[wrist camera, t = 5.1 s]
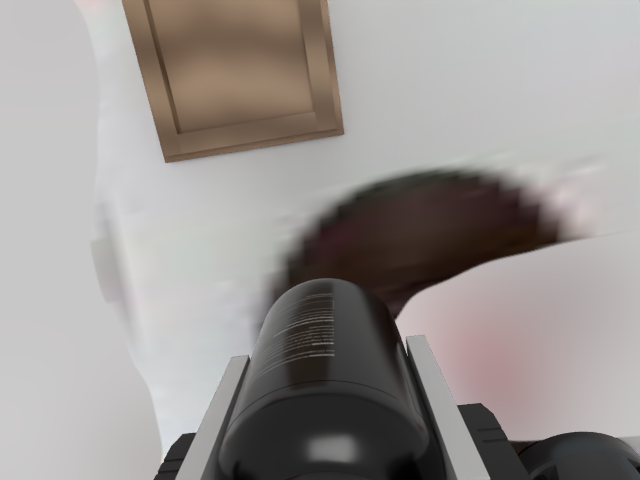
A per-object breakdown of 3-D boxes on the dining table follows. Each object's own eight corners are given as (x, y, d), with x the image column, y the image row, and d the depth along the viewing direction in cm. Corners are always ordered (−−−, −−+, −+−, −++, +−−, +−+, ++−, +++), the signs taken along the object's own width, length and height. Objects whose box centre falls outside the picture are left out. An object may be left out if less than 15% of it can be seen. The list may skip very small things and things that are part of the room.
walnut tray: (343, 134, 30) (344, 134, 28) (170, 162, 31) (159, 163, 29) (315, -83, 26) (313, -100, 24) (116, -41, 27) (100, -55, 25)
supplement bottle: (257, 380, 19) (142, 742, 8) (272, 263, 17) (152, 507, 6) (382, 401, 19) (454, 790, 8) (411, 286, 17) (563, 574, 6)
